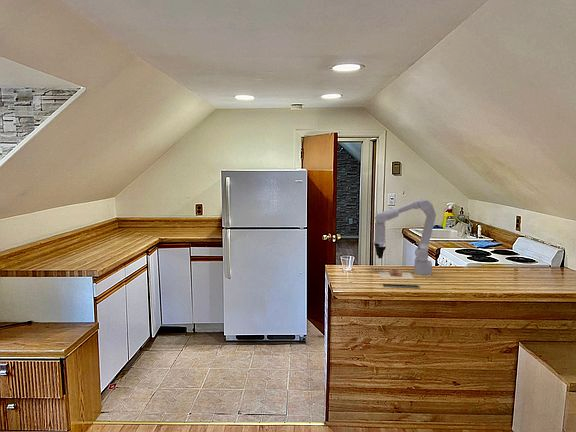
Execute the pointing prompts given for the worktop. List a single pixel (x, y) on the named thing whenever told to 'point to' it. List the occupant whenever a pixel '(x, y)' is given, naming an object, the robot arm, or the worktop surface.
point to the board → (387, 275)
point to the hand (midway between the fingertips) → (379, 256)
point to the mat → (401, 286)
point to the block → (395, 273)
